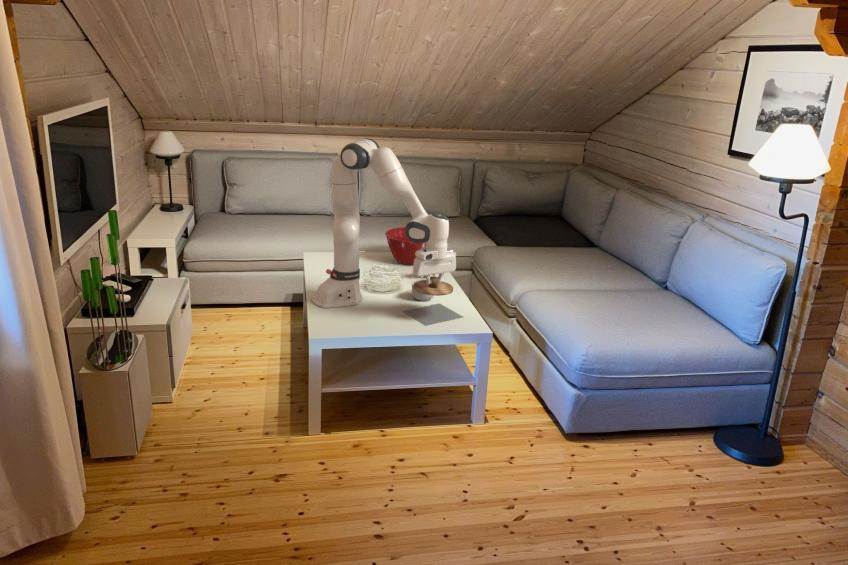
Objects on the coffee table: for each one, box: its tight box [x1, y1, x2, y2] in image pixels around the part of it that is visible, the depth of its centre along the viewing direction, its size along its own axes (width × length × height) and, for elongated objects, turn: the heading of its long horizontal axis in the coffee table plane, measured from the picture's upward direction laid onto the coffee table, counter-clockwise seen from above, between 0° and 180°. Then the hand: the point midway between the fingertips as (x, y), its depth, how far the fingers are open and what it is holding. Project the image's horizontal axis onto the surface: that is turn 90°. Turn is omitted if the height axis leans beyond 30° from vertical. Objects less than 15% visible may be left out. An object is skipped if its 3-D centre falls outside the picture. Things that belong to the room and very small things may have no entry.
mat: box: [402, 303, 464, 327], centre depth 288 cm, size 20×18×1 cm
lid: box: [413, 275, 454, 297], centre depth 283 cm, size 17×17×5 cm
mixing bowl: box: [385, 226, 426, 266], centre depth 355 cm, size 28×28×15 cm
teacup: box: [411, 277, 435, 302], centre depth 305 cm, size 14×11×8 cm
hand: (433, 283), depth 283 cm, fingers closed on lid, 3 cm apart
